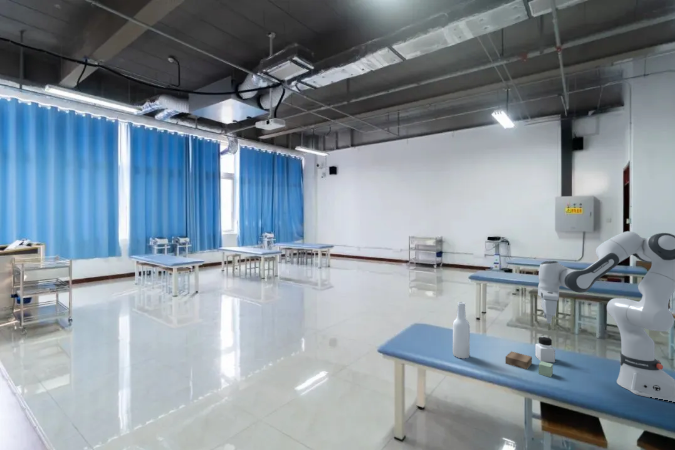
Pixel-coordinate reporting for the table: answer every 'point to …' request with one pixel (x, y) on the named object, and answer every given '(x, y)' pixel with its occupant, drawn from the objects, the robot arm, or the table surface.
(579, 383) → the table surface
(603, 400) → the table surface
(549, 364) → the sage green block
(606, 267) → the robot arm
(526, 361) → the walnut block
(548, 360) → the medicine bottle
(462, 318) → the alcohol
